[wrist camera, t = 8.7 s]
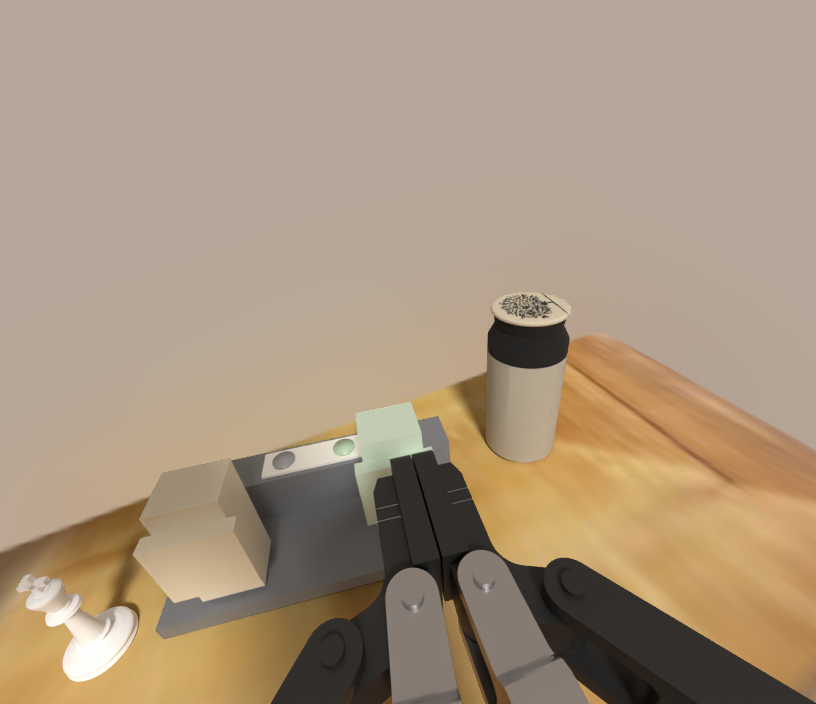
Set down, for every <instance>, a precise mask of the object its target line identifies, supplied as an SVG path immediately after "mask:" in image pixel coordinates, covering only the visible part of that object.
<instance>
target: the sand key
mask: <svg viewBox="0 0 816 704" xmlns="http://www.w3.org/2000/svg"><path fill="white" fill-rule="evenodd" d="M139 520H140V522H141V523H142V524H143V525H144V527H145V528H146V529H147V531H148V532H149V533H150V535H151V536H147V537H143V538H140V540H139V542H138V544H137V546H136V548H135V551H134V553H133V556H134V557H135V558H136V560H137V561H138V562H139V563H140V564H141V565H142V567H143V568H144V569H145V570H146V571H147V572H148V574H149V575H150V576H151V577H152V578H153V579H154V581H155V582H156V583H157V584H158V585H159V586H160V587H161V589H162V590H163V591H164V592H165V593H166V594H167V596H168V597H169V598H170V599H171V600H172V601H173V603H176V602H180V601H184V600H188V599H192V598H196V597H199V598H200V599H201V600H202V601H203V602H204V601H208V600H212V599H216V598H220V597H223V596H227V595H231V594H235V593H239V592H243V591H246V590H250V589H254V588H258V587H262V586H265V583H266V576H267V568H268V561H269V553H270V546H271V540H270V538H269V536H268V534H267V532H266V530H265V528H264V526H263V524H262V522H261V520H260V518H259V516H258V514H257V511H256V509H255V507H254V505H253V503H252V501H251V499H250V497H249V495H248V493H247V491H246V489H245V487H244V485H243V483H242V481H241V479H240V477H239V475H238V473H237V471H236V469H235V467H234V465H233V463H232V461H231V459H226V460H221V461H216V462H212V463H207V464H202V465H198V466H193V467H188V468H184V469H179V470H175V471H170V472H165V473H162V475H161V477H160V478H159V481H158V482H157V484H156V486H155V488H154V490H153V492H152V494H151V496H150V498H149V500H148V502H147V504H146V506H145V508H144V510H143V512H142V514H141V516H140V518H139Z"/></svg>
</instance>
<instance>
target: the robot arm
mask: <svg viewBox="0 0 816 704" xmlns="http://www.w3.org/2000/svg"><path fill="white" fill-rule="evenodd" d="M411 457H412V458H411ZM390 465H391V472H392V475H391V476H387V477H382V478H378V479H377V482H376V485H375V488H374V492H373V495H374V502H375V509H376V516H377V522H378V530H379V536H380V543H381V550H382V557H383V564H384V572H385V578H384V584H383V587H382V590H381V592H380V594H379V596H378V597H377V599H376V600H375V601H374V602H373V603H372V605H370V606H369V607H368V608H367V609H365V610H364V611H363V612H361V613H360V614H358V615H357V616H355V617H354V618H353V619H351V620H350V621H349V620H346V619H342V618H335V619H331V620H328V621H326V622H324V623H323V624H321V625H320V626H319V627H318V628H317V629H316V630H315V631H314V632H313V633H312V635H311V636H310V638H309V640H308V641H307V643H306V645H305V646H304V648H303V650H302V651H301V653H300V655H299V656H298V658H297V660H296V662H295V663H294V665H293V667H292V668H291V670H290V672H289V673H288V675H287V677H286V678H285V680H284V682H283V684H282V685H281V687H280V689H279V690H278V692H277V694H276V695H275V697H274V699H273V700H272V702H271V704H382V703H383V702H384V701H385V700H386V699H387V698H389V697H390V696H391V695H392V704H462V702H461V698H460V694H459V692H458V688H457V683H456V678H455V673H454V668H453V662H452V657H451V652H450V647H449V641H448V636H447V631H446V626H445V620H444V615H443V604H442V602H443V597H442V592H443V596H444V600H445V601H449V600H452V599H453V601H454V605H455V608H456V612H457V615H458V624H459V630H460V634H461V636H462V639H463V642H464V645H465V648H466V651H467V653H468V656H469V659H470V662H471V665H472V668H473V671H474V673H475V676H476V679H477V682H478V685H479V688H480V690H481V693H482V696H483V699H484V702H485V704H589V702H588V700H587V698H586V696H585V695H584V693H583V691H582V689H581V687H580V685H579V683H578V682H577V680H578V681H579V682H581V683H582V684H583V685H584V686H586V687H587V688H588V689H589V690H591V691H592V692H593V693H595V694H596V695H597V696H598V697H600V698H601V699H602V700H603V701H605V702H606V703H607V704H816V703H815V702H813V701H812V700H810V699H808V698H806V697H805V696H803V695H801V694H800V693H798V692H796V691H795V690H793V689H791V688H790V687H788V686H786V685H785V684H783V683H781V682H780V681H778V680H776V679H775V678H773V677H771V676H770V675H768V674H766V673H765V672H763V671H761V670H760V669H758V668H756V667H755V666H753V665H751V664H750V663H748V662H746V661H745V660H743V659H741V658H740V657H738V656H736V655H735V654H733V653H731V652H730V651H728V650H726V649H725V648H723V647H721V646H720V645H718V644H716V643H715V642H713V641H711V640H710V639H708V638H706V637H704V636H703V635H701V634H699V633H698V632H696V631H694V630H693V629H691V628H689V627H688V626H686V625H684V624H683V623H681V622H679V621H678V620H676V619H674V618H673V617H671V616H669V615H668V614H666V613H664V612H663V611H661V610H659V609H658V608H656V607H654V606H653V605H651V604H649V603H648V602H646V601H644V600H643V599H641V598H639V597H638V596H636V595H634V594H633V593H631V592H629V591H628V590H626V589H624V588H623V587H621V586H619V585H618V584H616V583H614V582H613V581H611V580H609V579H608V578H606V577H604V576H602V575H601V574H599V573H597V572H596V571H594V570H592V569H591V568H589V567H587V566H586V565H584V564H582V563H581V562H579V561H577V560H574V559H570V558H558V559H555V560H553V561H551V562H550V563H549V564H548V565H547V567H546V568H544V567H534V566H524V565H518V564H515V563H512V562H510V561H508V560H507V559H505V558H503V557H502V556H501V555H500V554H499V553H498V552H497V551H496V550H495V548H494V547H493V545H492V543H491V541H490V539H489V536H488V534H487V532H486V529H485V527H484V525H483V522H482V520H481V518H480V515H479V513H478V511H477V508H476V506H475V504H474V501H473V500H472V497H471V494H470V492H469V490H468V488H467V485H466V483H465V480H464V478H463V476H462V473H461V472H460V471H459V470H458V469H457V468H456V467H455V466H454V465H453V464H452V463H451V462H448V463H444V464H440V465H438V463H437V460H436V458H435V455H434V452H433V451H432V450H428V451H424V452H419V453H415V454H412V455H406V456H401V457H397V458H392V459H390ZM576 679H577V680H576Z"/></svg>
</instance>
